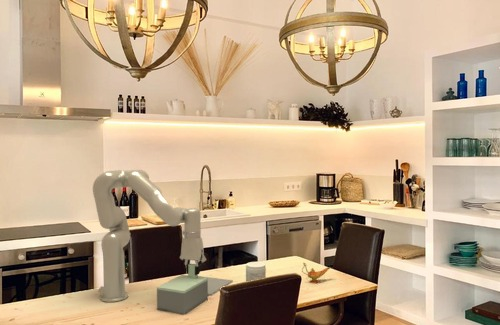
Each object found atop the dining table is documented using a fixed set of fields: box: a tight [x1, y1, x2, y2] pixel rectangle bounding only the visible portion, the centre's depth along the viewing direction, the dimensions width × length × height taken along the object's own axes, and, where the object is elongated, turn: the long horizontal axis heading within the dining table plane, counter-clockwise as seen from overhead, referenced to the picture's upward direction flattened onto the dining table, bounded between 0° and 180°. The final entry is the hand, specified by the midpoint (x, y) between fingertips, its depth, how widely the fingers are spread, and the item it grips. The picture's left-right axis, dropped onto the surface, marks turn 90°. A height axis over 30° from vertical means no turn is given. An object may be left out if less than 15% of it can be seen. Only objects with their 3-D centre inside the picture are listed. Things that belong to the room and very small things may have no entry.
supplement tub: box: [245, 261, 267, 282], centre depth 201 cm, size 10×10×15 cm
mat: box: [198, 275, 234, 296], centre depth 215 cm, size 22×24×1 cm
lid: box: [156, 263, 208, 293], centre depth 188 cm, size 14×20×8 cm
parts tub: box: [156, 280, 209, 316], centre depth 188 cm, size 14×20×9 cm
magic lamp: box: [301, 262, 332, 284], centre depth 221 cm, size 7×18×11 cm, turn 112°
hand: (192, 273), depth 196 cm, fingers closed on lid, 4 cm apart
